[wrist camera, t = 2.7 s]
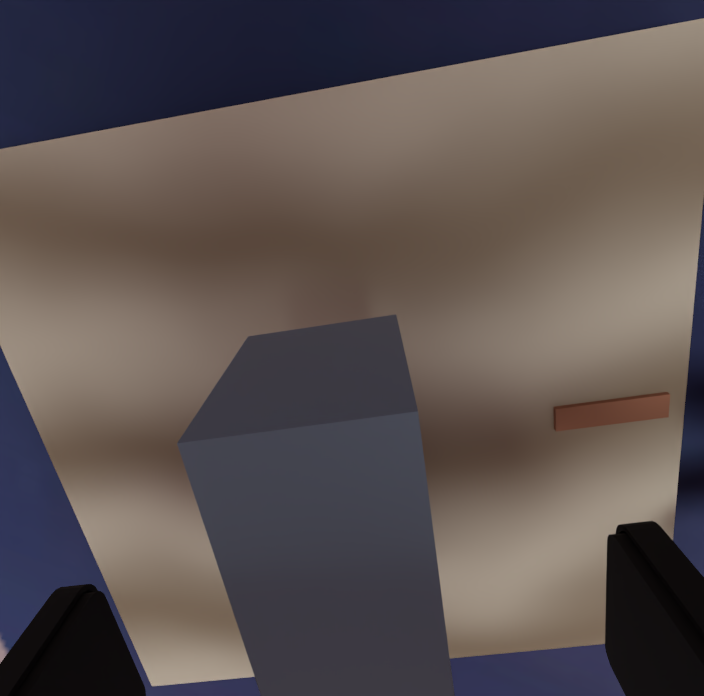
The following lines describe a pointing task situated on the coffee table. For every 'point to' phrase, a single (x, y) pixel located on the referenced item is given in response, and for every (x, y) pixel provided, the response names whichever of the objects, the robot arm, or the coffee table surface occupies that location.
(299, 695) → the grey block on stem
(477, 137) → the dial plate
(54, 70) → the coffee table surface
